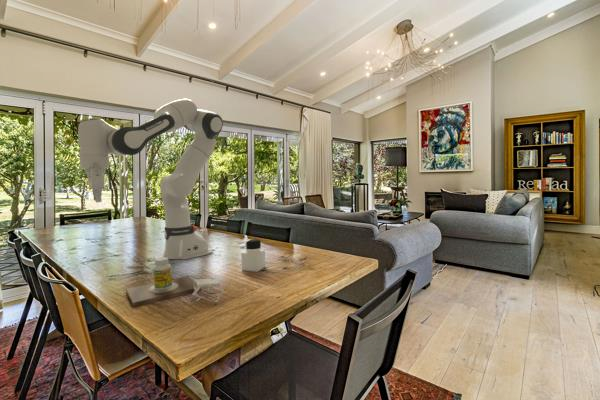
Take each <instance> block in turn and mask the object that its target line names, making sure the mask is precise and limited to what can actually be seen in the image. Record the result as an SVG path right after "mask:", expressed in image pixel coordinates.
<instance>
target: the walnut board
mask: <svg viewBox="0 0 600 400" xmlns="http://www.w3.org/2000/svg"><path fill="white" fill-rule="evenodd" d="M196 285H197V284H196V283H195V287H196V288H197V286H196ZM125 291H126V295H127V297H128V298H129V300H130V303H131V304H132V307H138V306H142V305H145V304H146V305H147V304H150V303H154V302H158V301H164V300H167V299H171V298H175V297H179V296H184V295H188V294H193V292H194V291H195V290H194V287H193V279H192V278H191V277H190V276H188V275H187V276H180V277H178V278H177V277H176V278H172V286H171V287H170V288H168V289H164V290H156V289H155V288H154V282H153V283H147V284H143V285H139V286H133V287H129V288H126V289H125ZM201 291H202V287H201V288H200V289H199V290H198V292H201Z"/></svg>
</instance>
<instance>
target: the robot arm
mask: <svg viewBox="0 0 600 400" xmlns="http://www.w3.org/2000/svg"><path fill="white" fill-rule="evenodd" d="M223 126H224V122H223V118H222V117H221V115H219V114H218V113H216V112H214V111H210V110H205V109H198V107H197V105H196V103H195V102H194V101H193V100H191V99H190V98H189V99H188V98H182V99H176V100H173V101H171V102H169V103H165V104H164V105H162V106H161V107H160V108H158V109H157V110H155V111H154V113H153V118H152V119H150V120H148V121H146V122H145V123H143V124H142V123H141V124H140V125H138V126H125V127H121V128H117V127H116V126H115V127H114V126H113V125H110V124H109V123H107V122H106V121H105V120H104V119H103V118H102V119H101V118H88V119H87V118H86V119H83V120H82V121H80V123H78V129H77V138H78V146H79V148H80V151H79V165H80V167H79V168H80V169H83V170H84V172H85V174H86V179H87V182H88V185H89V186H88V187H89V189H91V190H92V196H93V200H94V201H95V203H101V202H103V201H102V194H103V193H102V190H104V189H105V175H104V174H105V173H106V172H107V171H106V169H110V159H109V155H114V156H135V155H137V154H139V153H141V152H142V151H143V150H144V149H145V146H147V144H148V143H149V142H150V141H152V140H154V139H155V138H157V137H159V136H160V135H163V134H164V133H167V134H168V133H171V132H175V131H177V130H179V129H182V128H183V127H184V128H185V129H186V130H188V131H190V132H194V133H195V134H194V136H193V137H194V138H193V140H192V141H191V142H190V144H189V145H188V146H187V148H186V149H185V151H184V152H183V153H182V154H181V156H180V157H179V159H178V162H177V165H176V166H175V169H174V170H173V171H172V173H169V174H166V175H164V176H163V177H162V178H161V179H160V182H159V188H160V194H161V199H162V204H163V210H164V224H165V227H164V231H163V232H164V240H165V245H164V251H163V257H166V258H168V260H188V259H192V258H196V257H202V256H206V255H210V254H213V253H214V251H213V248H211V247H209V246H208V242H207V240H206V239H205V238H204V237H203V236H201V235H200V234H197V233H196V231H198V229H199V228H198V227H197V226H194V225H192V224H191V213H190V212H191V210H190V207H189V204H188V201H187V199H188V198H187V196H189V195H190V194H192V193H193V191H194V186H195V184H196V182H197V180H198V177H199V175H200V173H201V172H202V170H203V168H204V167H205V166H206V164H207V162H208V161H209V159H210V157H211V156H212V155H213V152H214V150H215V148H216V145H217V140H216V138H217V137H219V135H220V134H221V131H222V129H223ZM163 257H162V258H163Z"/></svg>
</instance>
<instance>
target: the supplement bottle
mask: <svg viewBox="0 0 600 400" xmlns="http://www.w3.org/2000/svg"><path fill="white" fill-rule="evenodd" d="M154 264H155V265H154V266H153V270H152V272H153V273H152V274H153V283H154V288H155V289H156V290H164V289H168V288H170V287H171V286H172V279H173V278H172V277H173V276H172V275H173V274H172V266H171V264H170V263H169V259H168V258H166V257H158V258H155V260H154Z"/></svg>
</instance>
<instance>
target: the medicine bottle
mask: <svg viewBox="0 0 600 400" xmlns="http://www.w3.org/2000/svg"><path fill="white" fill-rule="evenodd" d="M244 242H245V243H244V244H245V250H244V251H243V252H241V271H247V272H254V273H257V272H260V271H261V270H262V269H264V268H265V267H266V251H265V250H264V249H261V247H262V246H261V243H262V242H261V240H260V239H257V238H249V239H247V240H245V241H244Z"/></svg>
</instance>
